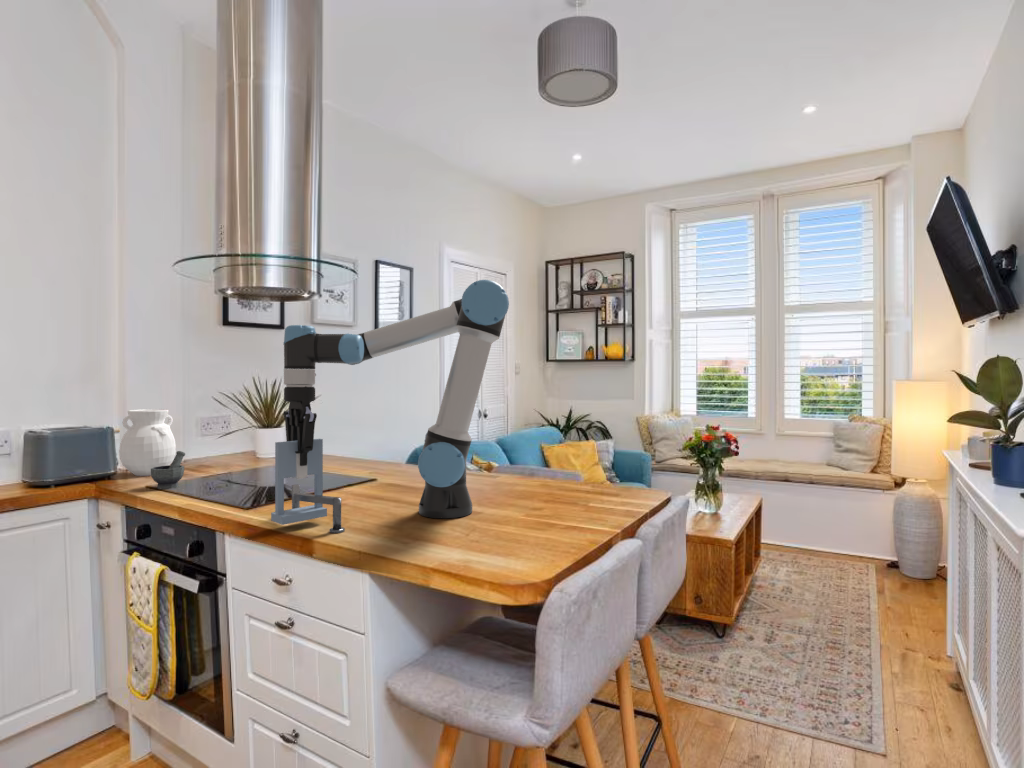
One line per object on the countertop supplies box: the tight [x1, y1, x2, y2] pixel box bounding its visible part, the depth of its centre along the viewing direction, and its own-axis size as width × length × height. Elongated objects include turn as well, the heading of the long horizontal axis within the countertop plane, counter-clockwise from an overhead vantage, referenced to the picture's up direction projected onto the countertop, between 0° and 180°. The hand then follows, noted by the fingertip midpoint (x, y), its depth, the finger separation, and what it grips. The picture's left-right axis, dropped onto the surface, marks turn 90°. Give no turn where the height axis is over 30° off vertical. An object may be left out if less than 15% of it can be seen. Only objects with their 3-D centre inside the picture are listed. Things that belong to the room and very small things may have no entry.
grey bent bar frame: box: [291, 484, 346, 534], centre depth 147 cm, size 27×8×8 cm, turn 46°
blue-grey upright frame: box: [270, 438, 328, 526], centre depth 145 cm, size 6×12×20 cm, turn 137°
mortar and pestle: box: [150, 450, 186, 490], centre depth 194 cm, size 11×9×12 cm
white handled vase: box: [118, 408, 177, 477], centre depth 219 cm, size 19×18×25 cm
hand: (299, 477), depth 145 cm, fingers closed on blue-grey upright frame, 1 cm apart
